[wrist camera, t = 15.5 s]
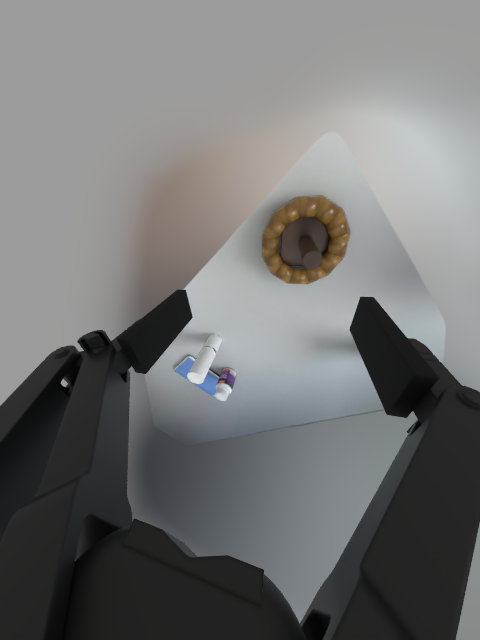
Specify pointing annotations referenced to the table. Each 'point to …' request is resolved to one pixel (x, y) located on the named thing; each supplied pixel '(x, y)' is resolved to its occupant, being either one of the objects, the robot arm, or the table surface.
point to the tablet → (208, 382)
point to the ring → (298, 209)
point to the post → (304, 243)
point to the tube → (204, 359)
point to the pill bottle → (225, 384)
